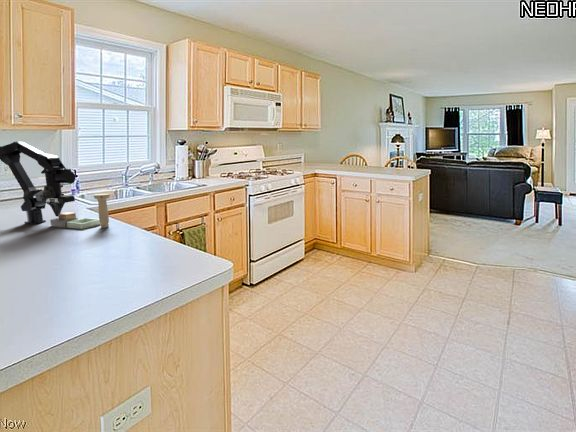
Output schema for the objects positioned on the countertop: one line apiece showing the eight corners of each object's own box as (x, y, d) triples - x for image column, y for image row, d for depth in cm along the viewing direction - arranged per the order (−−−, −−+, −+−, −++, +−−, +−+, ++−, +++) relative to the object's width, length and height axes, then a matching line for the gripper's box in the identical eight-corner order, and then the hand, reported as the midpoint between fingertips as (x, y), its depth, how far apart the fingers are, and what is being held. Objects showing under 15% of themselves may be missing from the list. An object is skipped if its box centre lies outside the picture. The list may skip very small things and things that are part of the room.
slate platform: (51, 226, 182) (50, 219, 181) (64, 223, 188) (63, 216, 188) (65, 227, 178) (64, 221, 178) (78, 224, 185) (77, 218, 184)
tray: (67, 227, 179) (66, 222, 178) (85, 223, 188) (85, 217, 187) (82, 229, 175) (82, 223, 175) (100, 224, 184) (100, 219, 184)
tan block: (58, 219, 182) (58, 214, 181) (68, 217, 186) (67, 212, 186) (66, 220, 180) (65, 214, 180) (76, 218, 185) (75, 212, 184)
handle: (112, 227, 178) (109, 194, 175) (96, 228, 175) (93, 195, 172) (112, 225, 182) (109, 193, 179) (97, 226, 180) (94, 194, 177)
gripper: (22, 184, 179) (27, 218, 182) (51, 185, 172) (56, 220, 175) (45, 182, 189) (49, 214, 192) (73, 183, 182) (77, 216, 185)
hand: (57, 216), depth 185 cm, fingers closed
